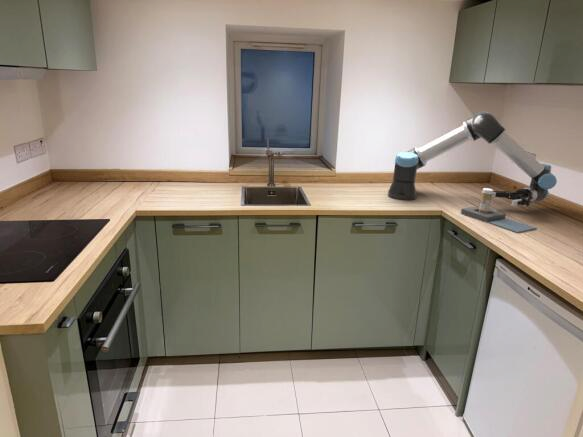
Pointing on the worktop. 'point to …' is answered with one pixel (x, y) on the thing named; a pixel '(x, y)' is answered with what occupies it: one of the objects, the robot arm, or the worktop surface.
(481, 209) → the sprinkles bottle
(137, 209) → the worktop surface
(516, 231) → the slate mat
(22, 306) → the worktop surface
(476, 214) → the collar block
